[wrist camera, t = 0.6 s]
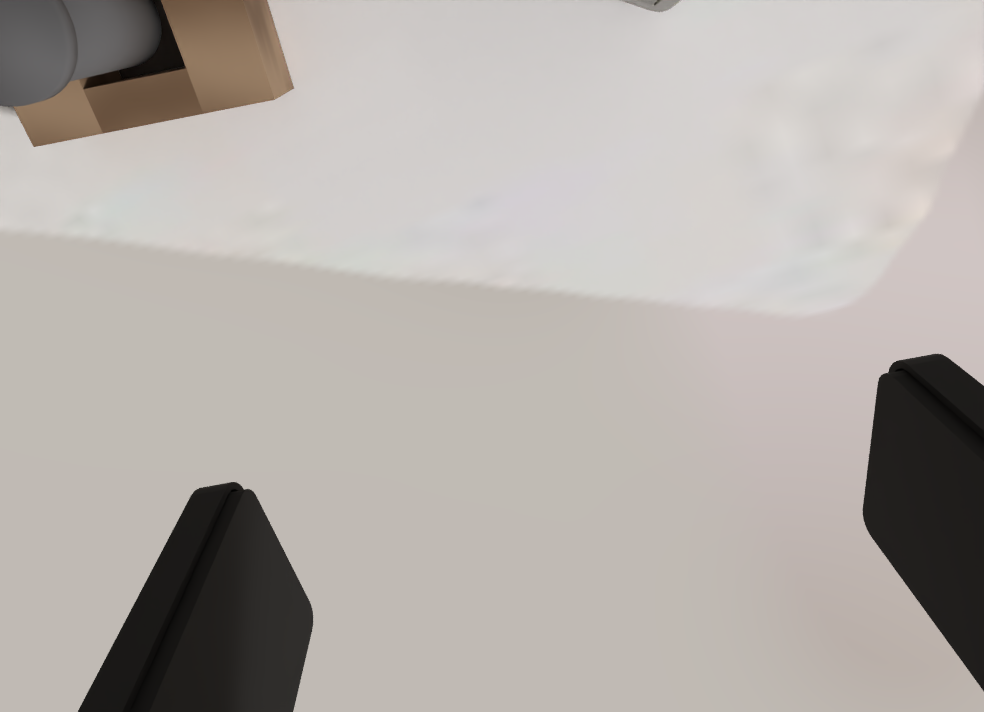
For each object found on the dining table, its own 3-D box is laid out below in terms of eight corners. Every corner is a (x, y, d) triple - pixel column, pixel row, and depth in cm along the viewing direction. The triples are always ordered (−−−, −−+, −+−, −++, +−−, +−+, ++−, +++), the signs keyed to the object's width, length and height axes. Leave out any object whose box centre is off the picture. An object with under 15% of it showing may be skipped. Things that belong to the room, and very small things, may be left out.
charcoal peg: (37, -32, 28) (-126, -40, 21) (142, -55, 28) (18, -71, 20) (89, 85, 31) (-39, 118, 23) (187, 65, 30) (91, 92, 23)
